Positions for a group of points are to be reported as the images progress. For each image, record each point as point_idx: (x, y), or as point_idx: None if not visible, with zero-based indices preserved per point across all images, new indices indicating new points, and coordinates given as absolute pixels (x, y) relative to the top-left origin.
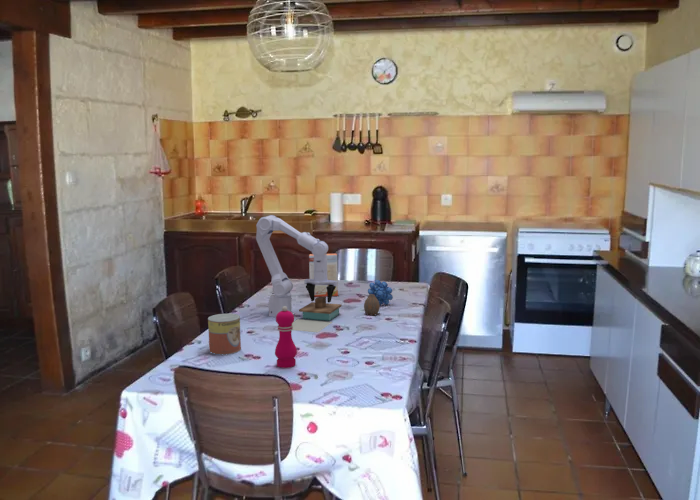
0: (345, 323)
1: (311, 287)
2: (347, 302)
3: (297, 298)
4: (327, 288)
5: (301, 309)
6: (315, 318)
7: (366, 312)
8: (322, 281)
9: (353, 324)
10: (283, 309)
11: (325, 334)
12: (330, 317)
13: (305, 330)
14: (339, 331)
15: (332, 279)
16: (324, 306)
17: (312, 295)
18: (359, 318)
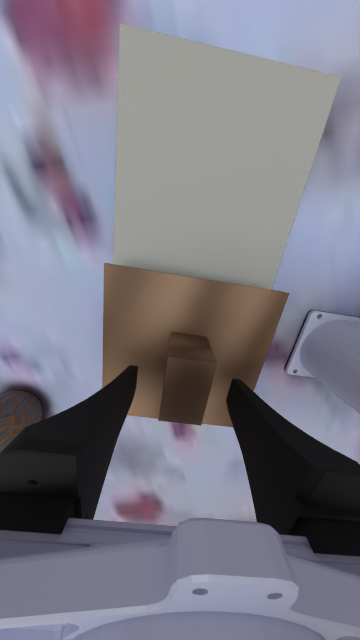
0: (63, 273)
1: (289, 473)
2: (146, 495)
3: None
4: (73, 436)
5: (275, 297)
6: None
7: (28, 396)
8: (119, 627)
9: (25, 263)
10: None
11: (76, 22)
12: None
13: (200, 63)
14: (30, 116)
15: None
16: (165, 365)
17: (245, 410)
18: (42, 350)
